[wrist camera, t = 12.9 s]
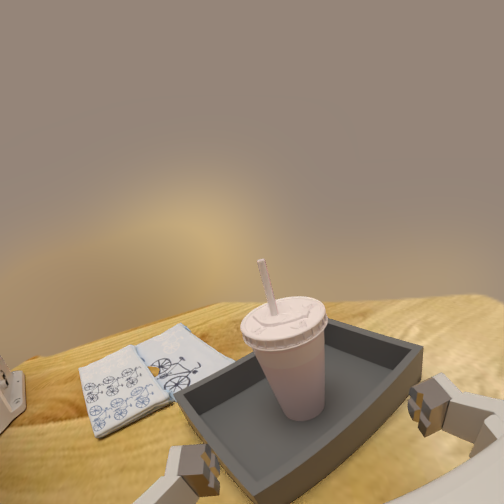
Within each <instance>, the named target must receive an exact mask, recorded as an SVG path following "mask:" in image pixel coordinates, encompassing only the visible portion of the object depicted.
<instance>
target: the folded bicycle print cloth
mask: <svg viewBox="0 0 504 504" xmlns="http://www.w3.org/2000/svg"><path fill="white" fill-rule="evenodd" d="M189 331H190V330H189V329H188V328H187V326H184V325H183V324H182V323H179V324H177V325H175V326H174V327H172V328H170V329H169V330H167V331H165V332H164V333H162V334H160V335H158V336H155V337H153V338H151V339H149V340H147V341H144V342H142V343H140V344H138V345H136V346H134V345H128V346H126V347H124V348H123V349H121V350H119V351H117V352H115V353H112V354H110V355H108V356H106V357H104V358H103V359H100V360H98V361H96V362H93V363H91V364H89V365H87V366H85V367H80V368H79V374H80V378H81V383H82V389H83V394H84V399H85V402H86V407H87V411H88V415H89V418H90V421H91V425H92V428H93V432H94V435H95V437H96V438H102V437H104V436H106V435H108V434H110V433H112V432H114V431H116V430H118V429H120V428H122V427H124V426H126V425H128V424H130V423H132V422H134V421H136V420H138V419H140V418H142V417H144V416H146V415H148V414H150V413H152V412H154V411H156V410H158V409H160V408H162V407H164V406H166V405H168V404H170V403H172V402H174V401H175V402H177V401H176V399H175V397H174V396H173V394H174V393H176V392H178V391H180V390H182V389H184V388H186V387H188V386H190V385H192V384H194V383H196V382H198V381H200V380H202V379H204V378H206V377H208V376H210V375H212V374H214V373H215V372H217V371H219V370H221V369H223V368H225V367H227V366H228V365H230V364H232V363H234V362H236V361H235V360H233V359H231V358H228V357H226V356H224V355H223V354H221V353H219V352H218V351H216V350H215V349H214V348H212V347H211V346H209V345H208V344H206V343H205V342H203V341H202V340H200V339H199V338H198V337H196V336H195V335H193V334H192V333H191V331H190V332H189ZM147 366H153V367H158V368H160V371H159V374H158V376H156V377H154V376H153V374H152V373H151V372H150V370H149V369H148V367H147Z"/></svg>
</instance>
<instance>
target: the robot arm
mask: <svg viewBox="0 0 504 504" xmlns="http://www.w3.org/2000/svg"><path fill="white" fill-rule="evenodd" d="M409 395H410V396H411V398H410V399H409V401H408V411H409V414H410V416H411V418H412V420H413V421H416V422H419V424H418V429H419V430H420V431H421V433H422V434H423V436H424V437H427V436H429V435H431V434H433V433H435V432H437V431H439V430H441V429H442V430H443V431H445V432H448V433H450V434H452V435H454V436H457V437H459V438H461V439H464V440H466V441H469V442H471V443H473V444H474V445H473V448H472V450H471V452H470V454H469V457H470V459H469V460H467V461H466V462H464V463H462V464H461V465H459V466H458V467H456V468H454V469H453V470H451V471H449V472H448V473H446V474H444V475H442V476H441V477H439V478H437V479H435V480H433V481H431V482H429V483H428V484H426V485H424V486H422V487H420V488H418V489H416V490H413V491H411V492H409V493H407V494H405V495H403V496H400V497H398V498H396V499H394V500H391V501H389V502H386V503H384V504H504V400H500V399H496V398H491V397H486V396H482V395H477V394H473V393H469V392H463V393H462V392H461V391H460V390H459V389H458V388H457V387H456V386H455V385H454V384H453V383H452V382H451V381H450V380H449V379H448V378H447V377H446V376H445V375H444V374H443V373H439V374H437V375H435V376H433V377H431V378H428V379H426V380H424V381H422V382H420V383H418V384H416V385H414V386H412V387H411V388H410V389H409ZM25 408H26V397H25V375H24V373H23V372H22V371H13V372H11V371H10V369H9V368H8V366H7V364H6V363H5V361H4V360H3V358H2V357H1V356H0V433H1V432H2V431H3V430H4V429H5V428H6V427H7V426H8V425H9V423H10V422H11V421H12V420H13V419H14V418H15V417H17V416H18V415H19V414H20V413H22V412H23V411H24V410H25ZM219 475H220V466H219V462H218V459H217V457H216V455H215V454H213V453H211V447H210V446H209V444H197V445H183V446H172V447H171V448H170V450H169V455H168V460H167V465H166V470H165V475H164V476H161V477H160V478H159V479H158V480H157V481H156V482H155V483H154V484H153V485H152V486H151V487H150V488H149V489H148V490H146V491H145V492H144V493H143V494H142V495H141V496H140V497H139V498H138V499H137V500H136V501H135V502H134V503H132V504H196V502H197V501H198V500H199V497H208V496H218V495H219V492H220V483H219V481H218V480H217V477H218V476H219Z"/></svg>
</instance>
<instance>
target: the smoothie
mask: <svg viewBox="0 0 504 504" xmlns="http://www.w3.org/2000/svg"><path fill="white" fill-rule="evenodd" d="M257 263H258V267H259V271H260V275H261V278H262V282H263V286H264V290H265V294H266V297H267V301H268V303H265V304H263V305H261V306H259V307H257V308H255V309H254V310H252V311H251V312H250V313H248V314H247V315H246V316H245V318H244V319H243V320H242V322H241V331H242V334H243V339H244V341H245V343H246V344H247V345H248V346H250V347H251V348H252V349H253V351H254V354H255V356H256V358H257V360H258V362H259V364H260V366H261V368H262V370H263V372H264V374H265V376H266V378H267V380H268V382H269V384H270V386H271V388H272V390H273V392H274V394H275V396H276V398H277V400H278V402H279V404H280V406H281V408H282V410H283V412H284V414H285V415H286V416H287V417H288V418H289V419H291V420H294V421H307V420H310V419H313V418H315V417H316V416H318V415H319V414H320V413H321V412H322V410H323V409H324V405H325V349H324V343H325V341H324V329H325V327H326V326H327V323H328V317H327V315H326V311H325V306H324V305H323V303H322V302H320V301H319V300H317V299H314V298H310V297H302V296H298V297H287V298H281V299H277V300H275V298H274V293H273V289H272V286H271V282H270V278H269V274H268V270H267V266H266V262H265V259H260V260H257Z"/></svg>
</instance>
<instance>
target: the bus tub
mask: <svg viewBox="0 0 504 504" xmlns="http://www.w3.org/2000/svg"><path fill="white" fill-rule="evenodd" d="M324 341H325V343H324V349H325V405H324V409H323V410H322V412H321V413H320V414H319V415H318V416H316V417H315V418H313V419H310V420H307V421H294V420H291V419H289V418H288V417H287V416H286V415H285V414H284V412H283V410H282V408H281V406H280V404H279V402H278V400H277V398H276V396H275V394H274V392H273V390H272V388H271V386H270V384H269V382H268V380H267V378H266V376H265V374H264V372H263V370H262V368H261V366H260V364H259V362H258V360H257V358H256V356H255V354H254V352H252V353H250V354H248V355H246V356H245V357H243V358H241V359H239V360H238V361H236V362H234V363H232V364H230V365H228V366H227V367H225V368H223V369H221V370H219V371H217V372H215V373H214V374H212V375H210V376H208V377H206V378H204V379H202V380H200V381H198V382H196V383H194V384H192V385H190V386H188V387H186V388H184V389H182V390H180V391H178V392H176V393H174V394H173V396H174V397H175V399H176V401H177V403H178V405H179V407H180V408H181V410H182V412H183V414H184V416H185V417H186V419H187V421H188V422H189V424H190V425H191V427H192V428H193V429H194V431H195V432H196V434H197V435H198V436H199V438H200V439H201V440H202V442H203V443H204V444H209V446H210V447H211V453H213V454H215V455H216V457H217V459H218V462H219V464H220V465H221V466H222V467H223V469H224V470H225V471H226V472H227V473H228V475H229V476H230V477H231V478H232V479H233V480H234V482H235V483H236V484H237V485H238V486H239V487H240V489H241V490H242V491H243V492H244V493H245V494H246V495H247V496H248V497H249V499H250V500H251V501H252V502H253V503H254V504H290V503H291V502H293V501H294V500H295V499H297V498H298V497H300V496H301V495H302V494H304V493H305V492H307V491H308V490H309V489H311V488H312V487H313V486H315V485H316V484H317V483H318V482H320V481H321V480H322V479H323V478H325V477H326V476H327V475H328V474H330V473H331V472H332V471H333V470H334V469H336V468H337V467H338V466H339V465H340V464H341V463H343V462H344V461H345V460H346V459H347V458H348V457H349V456H350V455H352V454H353V453H354V452H355V451H356V450H357V449H358V448H359V447H360V446H361V445H362V444H363V443H364V442H365V441H366V440H367V439H368V438H369V437H370V436H371V435H372V434H373V433H374V432H375V431H376V430H377V429H378V428H379V427H380V426H381V425H382V424H383V423H384V422H385V421H386V420H387V419H388V418H389V417H390V416H391V415H392V413H393V412H394V411H395V410H396V409H397V408H398V407H399V406H400V404H401V403H402V402H403V401H404V400H405V399H406V397H407V396H408V395H409V389H410V388H411V387H412V386H414V385H416V384H418V383H419V381H420V380H421V374H422V361H423V346H420V345H416V344H413V343H409V342H406V341H402V340H399V339H395V338H392V337H388V336H385V335H382V334H378V333H375V332H372V331H368V330H365V329H362V328H358V327H355V326H352V325H349V324H345V323H342V322H339V321H336V320H333V319H329V318H328V323H327V326H326V327H325V329H324Z"/></svg>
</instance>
